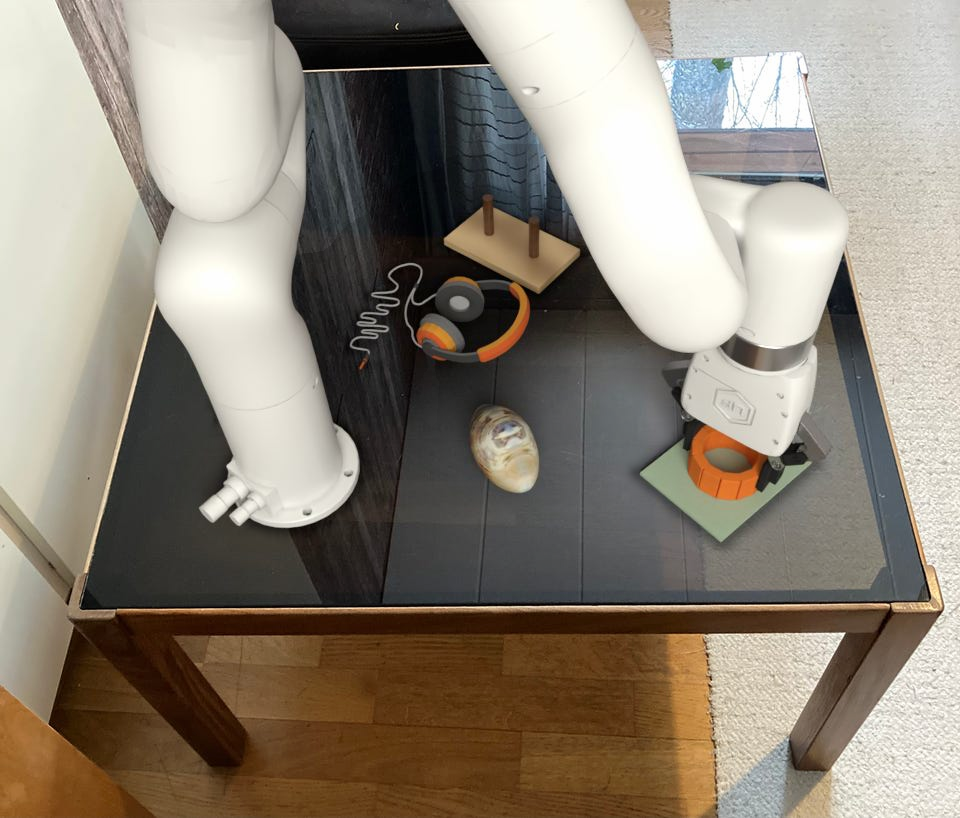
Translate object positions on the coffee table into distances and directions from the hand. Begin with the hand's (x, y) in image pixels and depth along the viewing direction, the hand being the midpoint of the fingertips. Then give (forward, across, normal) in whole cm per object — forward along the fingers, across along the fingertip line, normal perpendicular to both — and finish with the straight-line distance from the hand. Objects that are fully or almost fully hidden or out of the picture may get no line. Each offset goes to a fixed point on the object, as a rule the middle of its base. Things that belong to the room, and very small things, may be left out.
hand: (729, 459), depth 88 cm
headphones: (+2, -34, -3) cm, 34 cm away
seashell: (+2, -17, -13) cm, 21 cm away
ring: (+1, 0, 0) cm, 1 cm away
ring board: (+1, -36, +12) cm, 38 cm away
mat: (+2, 0, 0) cm, 2 cm away
